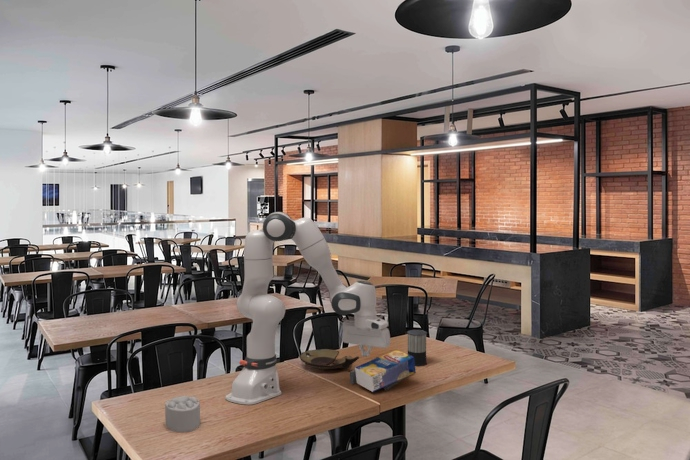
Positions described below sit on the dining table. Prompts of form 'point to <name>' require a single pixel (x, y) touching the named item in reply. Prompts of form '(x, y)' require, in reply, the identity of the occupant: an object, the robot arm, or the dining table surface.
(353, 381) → the angle bracket
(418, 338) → the milk frother
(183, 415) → the lumpy-topped squat cylinder
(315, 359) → the olive brown plate
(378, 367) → the beverage box
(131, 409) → the dining table surface
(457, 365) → the dining table surface
